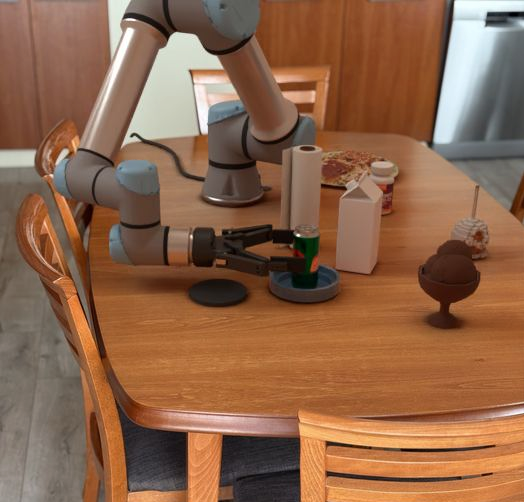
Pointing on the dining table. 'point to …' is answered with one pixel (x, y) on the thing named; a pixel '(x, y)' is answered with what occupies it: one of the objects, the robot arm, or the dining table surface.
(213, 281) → the coaster
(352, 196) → the milk carton
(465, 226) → the candy apple
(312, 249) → the soda can
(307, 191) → the paper towel roll
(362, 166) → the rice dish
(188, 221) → the dining table surface
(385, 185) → the pill bottle
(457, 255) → the ice cream bowl
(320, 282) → the dish
